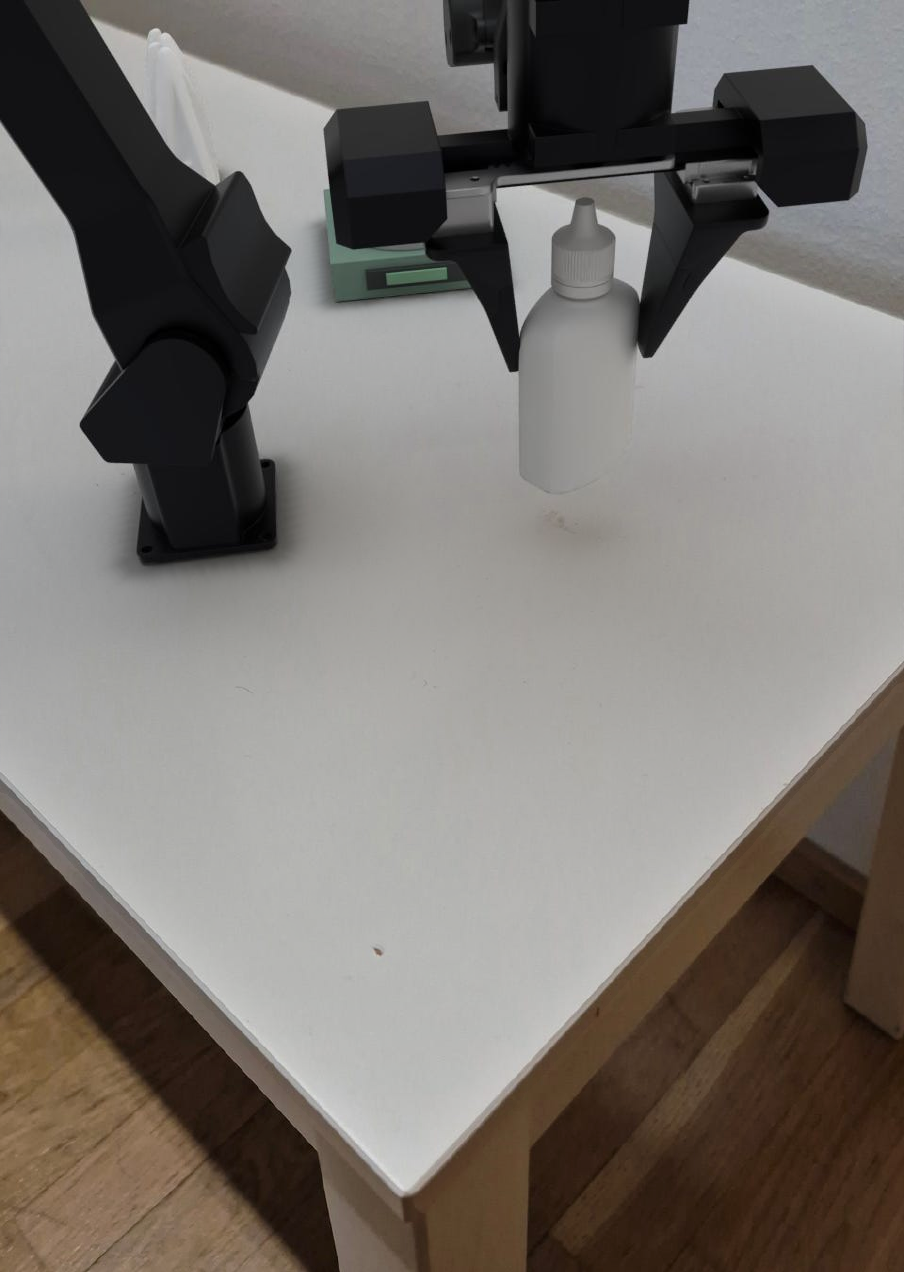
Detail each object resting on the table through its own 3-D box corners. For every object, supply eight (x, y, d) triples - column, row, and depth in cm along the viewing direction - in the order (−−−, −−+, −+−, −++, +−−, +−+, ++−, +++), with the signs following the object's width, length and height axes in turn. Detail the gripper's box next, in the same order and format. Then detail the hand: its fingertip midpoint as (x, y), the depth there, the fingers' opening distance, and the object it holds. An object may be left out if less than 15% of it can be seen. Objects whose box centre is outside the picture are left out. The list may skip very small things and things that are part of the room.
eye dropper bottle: (499, 447, 53) (494, 190, 44) (615, 422, 54) (632, 165, 45) (531, 505, 50) (533, 241, 41) (653, 477, 51) (679, 213, 42)
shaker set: (232, 240, 76) (198, 63, 68) (167, 250, 76) (126, 72, 68) (217, 165, 84) (186, -2, 76) (159, 173, 84) (121, 6, 76)
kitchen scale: (500, 289, 70) (499, 239, 68) (335, 306, 70) (329, 256, 67) (477, 211, 78) (475, 163, 75) (327, 225, 77) (321, 178, 75)
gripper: (800, -152, 43) (743, 245, 54) (295, -110, 42) (343, 285, 53) (921, -65, 35) (825, 377, 46) (304, -11, 34) (358, 427, 45)
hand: (579, 359), depth 48 cm, fingers closed on eye dropper bottle, 5 cm apart
